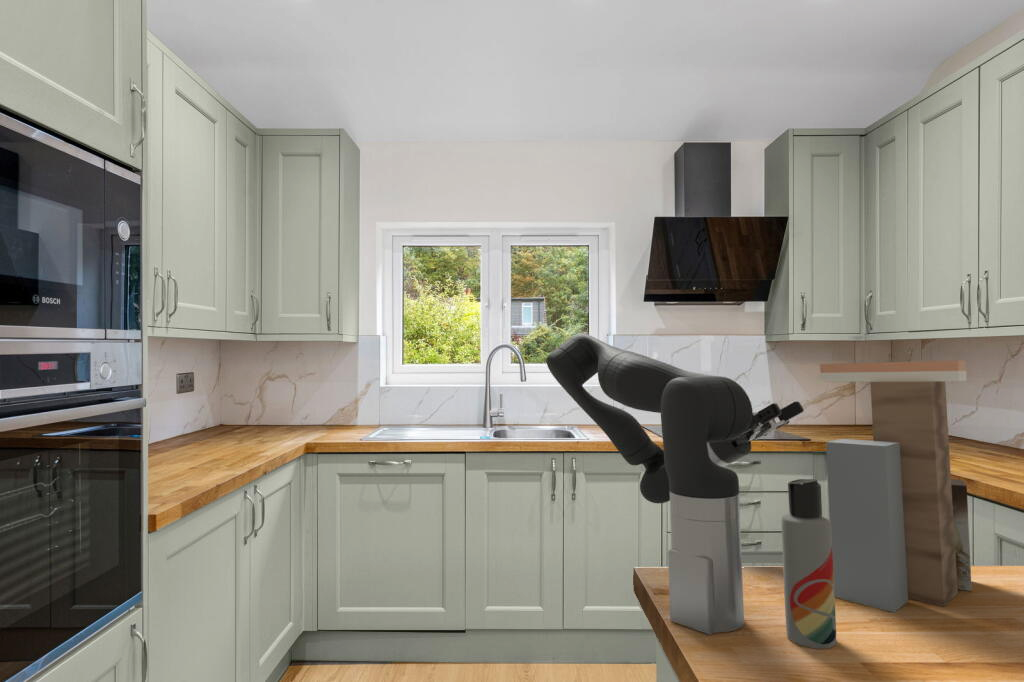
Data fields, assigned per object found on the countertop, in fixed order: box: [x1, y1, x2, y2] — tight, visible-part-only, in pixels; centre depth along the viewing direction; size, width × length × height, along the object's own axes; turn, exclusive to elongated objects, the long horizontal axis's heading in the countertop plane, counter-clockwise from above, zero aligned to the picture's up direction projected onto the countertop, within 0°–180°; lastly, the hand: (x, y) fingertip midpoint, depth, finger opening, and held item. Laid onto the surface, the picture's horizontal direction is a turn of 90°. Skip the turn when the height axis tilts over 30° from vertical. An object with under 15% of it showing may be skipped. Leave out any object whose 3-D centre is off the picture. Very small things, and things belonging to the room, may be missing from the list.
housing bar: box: [819, 360, 967, 383], centre depth 93 cm, size 4×19×3 cm, turn 40°
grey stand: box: [825, 438, 909, 613], centre depth 88 cm, size 6×8×23 cm
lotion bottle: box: [781, 478, 837, 650], centre depth 75 cm, size 6×6×20 cm
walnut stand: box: [869, 381, 959, 607], centre depth 90 cm, size 7×8×32 cm
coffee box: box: [951, 478, 973, 592], centre depth 95 cm, size 9×6×16 cm
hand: (789, 406), depth 105 cm, fingers open, 8 cm apart
